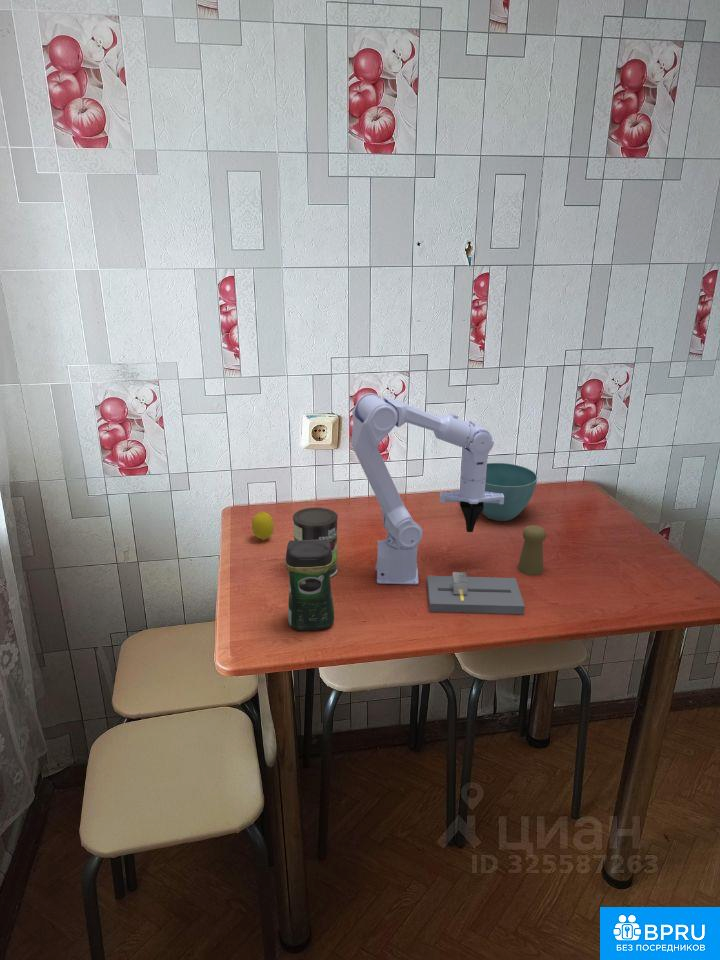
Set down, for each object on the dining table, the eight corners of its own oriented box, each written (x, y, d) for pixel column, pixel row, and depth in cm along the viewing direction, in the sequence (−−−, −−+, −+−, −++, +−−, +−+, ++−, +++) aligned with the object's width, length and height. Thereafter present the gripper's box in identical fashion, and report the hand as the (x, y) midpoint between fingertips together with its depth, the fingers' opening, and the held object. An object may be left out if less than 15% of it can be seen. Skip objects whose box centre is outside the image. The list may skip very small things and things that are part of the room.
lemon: (248, 543, 184) (247, 514, 181) (258, 533, 189) (257, 506, 186) (268, 546, 182) (267, 517, 179) (277, 537, 187) (276, 508, 184)
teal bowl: (472, 498, 211) (475, 459, 207) (536, 506, 206) (540, 466, 202) (461, 523, 195) (463, 481, 191) (529, 533, 190) (533, 490, 186)
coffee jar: (332, 610, 154) (332, 532, 148) (335, 631, 147) (334, 550, 140) (287, 612, 154) (284, 533, 147) (287, 633, 146) (284, 552, 139)
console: (429, 611, 154) (430, 603, 153) (427, 583, 165) (427, 575, 165) (523, 614, 154) (524, 605, 153) (514, 585, 165) (515, 577, 164)
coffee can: (346, 568, 172) (346, 514, 167) (318, 585, 164) (317, 529, 159) (313, 555, 178) (312, 503, 172) (285, 571, 170) (283, 517, 165)
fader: (453, 594, 157) (454, 582, 156) (451, 584, 161) (452, 572, 160) (467, 594, 157) (468, 582, 156) (465, 584, 161) (466, 572, 160)
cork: (525, 577, 168) (529, 534, 164) (513, 564, 174) (517, 523, 170) (548, 573, 170) (553, 531, 166) (535, 561, 175) (540, 520, 171)
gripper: (442, 482, 161) (439, 537, 166) (507, 483, 161) (502, 538, 166) (440, 471, 168) (437, 524, 173) (503, 472, 167) (498, 525, 172)
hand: (469, 530), depth 170 cm, fingers closed
